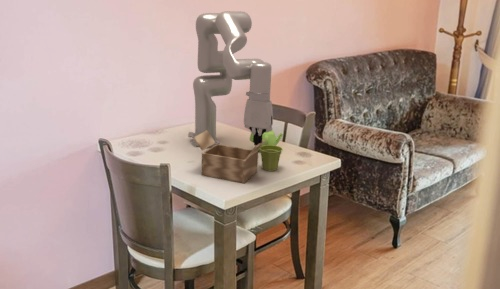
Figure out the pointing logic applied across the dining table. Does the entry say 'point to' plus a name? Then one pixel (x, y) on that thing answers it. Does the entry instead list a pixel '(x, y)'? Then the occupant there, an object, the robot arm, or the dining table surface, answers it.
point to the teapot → (268, 138)
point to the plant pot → (270, 157)
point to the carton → (229, 163)
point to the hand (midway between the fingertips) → (257, 144)
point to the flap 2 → (256, 148)
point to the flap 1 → (204, 140)
